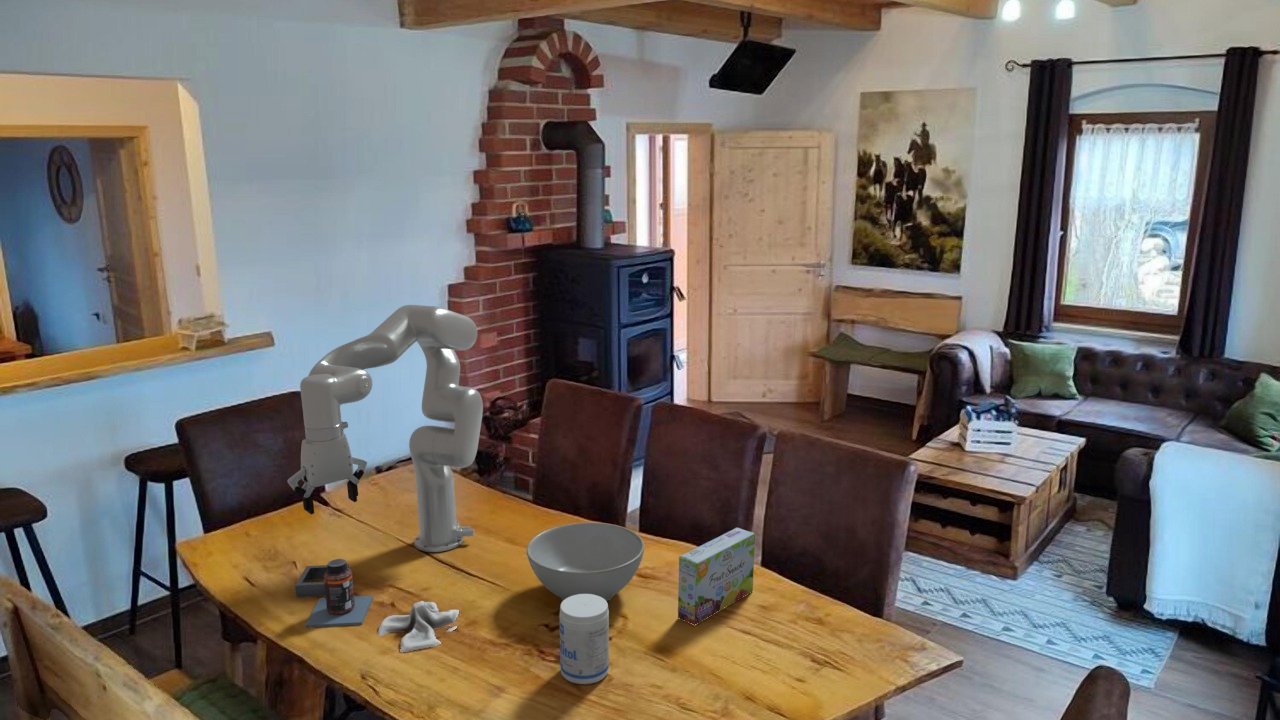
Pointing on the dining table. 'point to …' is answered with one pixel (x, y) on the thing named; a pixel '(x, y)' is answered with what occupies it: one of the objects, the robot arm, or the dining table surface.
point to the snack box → (715, 575)
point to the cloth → (419, 625)
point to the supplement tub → (584, 638)
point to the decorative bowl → (585, 558)
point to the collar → (314, 588)
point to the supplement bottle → (339, 587)
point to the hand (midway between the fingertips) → (331, 506)
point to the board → (354, 617)
